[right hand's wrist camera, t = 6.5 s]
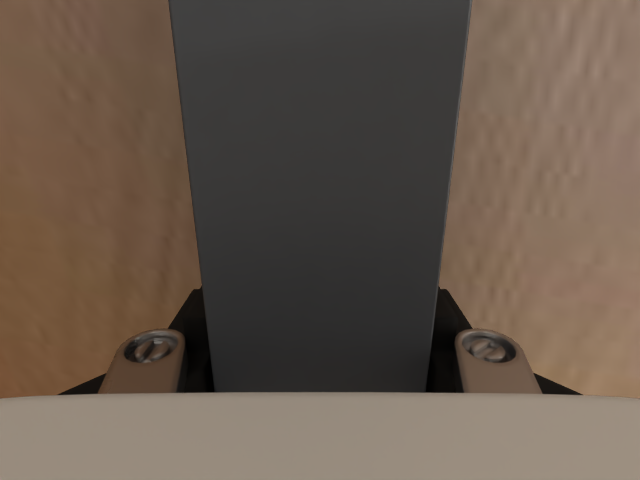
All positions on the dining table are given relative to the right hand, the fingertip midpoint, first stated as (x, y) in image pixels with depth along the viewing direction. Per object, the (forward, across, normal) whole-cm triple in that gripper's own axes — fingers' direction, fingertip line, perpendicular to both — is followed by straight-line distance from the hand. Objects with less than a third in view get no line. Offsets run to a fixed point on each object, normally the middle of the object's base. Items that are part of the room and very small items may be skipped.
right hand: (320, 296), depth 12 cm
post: (+2, 0, -30) cm, 30 cm away
